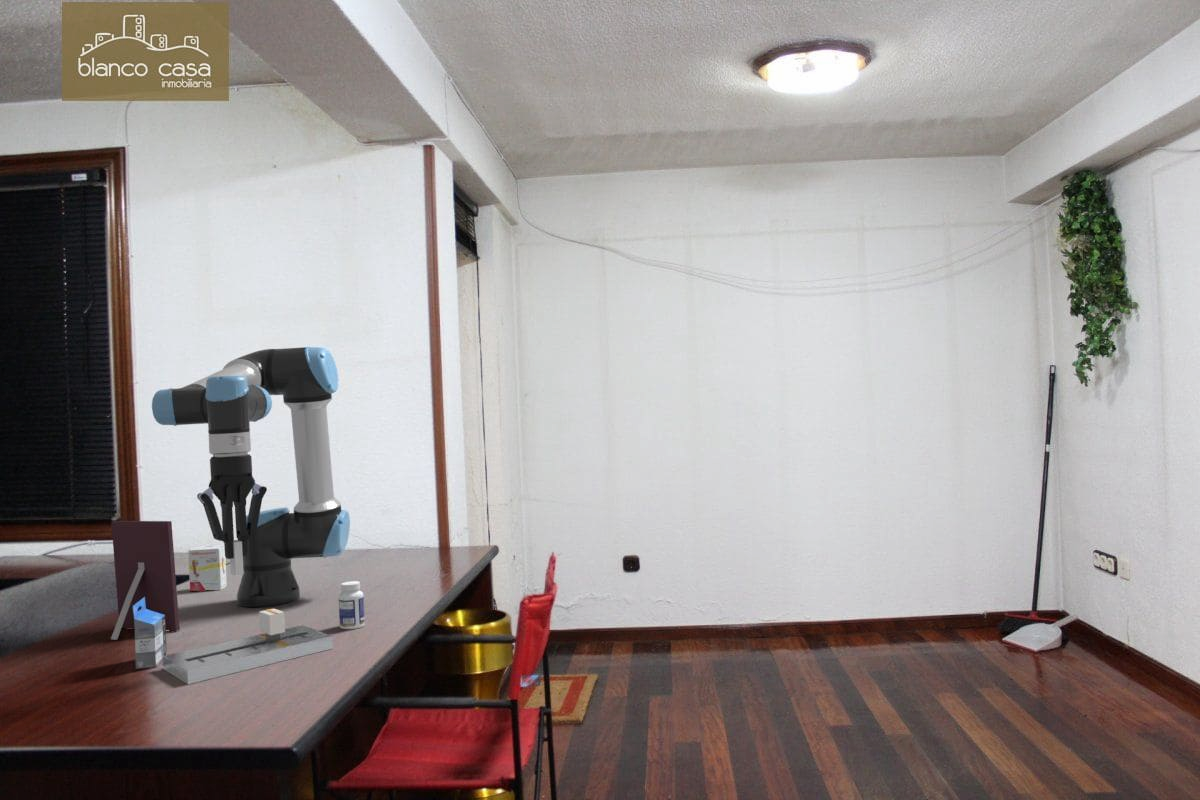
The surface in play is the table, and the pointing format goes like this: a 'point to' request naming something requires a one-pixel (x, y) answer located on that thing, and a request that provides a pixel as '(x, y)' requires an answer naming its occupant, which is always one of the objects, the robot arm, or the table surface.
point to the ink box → (207, 568)
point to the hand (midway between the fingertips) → (237, 574)
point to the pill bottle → (351, 606)
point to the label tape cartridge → (149, 636)
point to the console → (244, 654)
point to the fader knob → (272, 624)
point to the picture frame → (144, 571)
